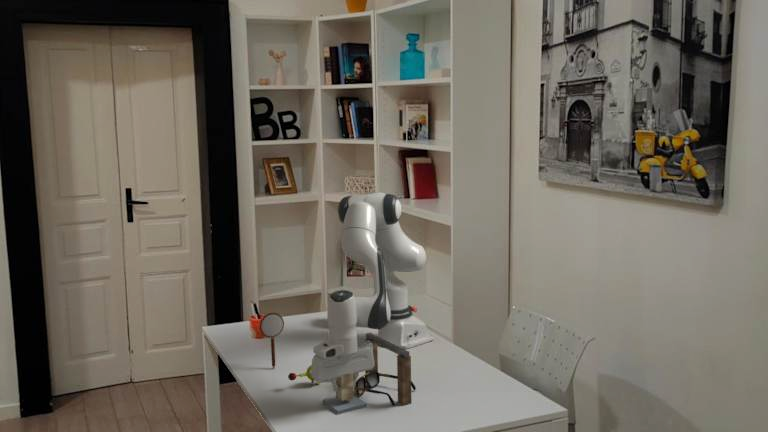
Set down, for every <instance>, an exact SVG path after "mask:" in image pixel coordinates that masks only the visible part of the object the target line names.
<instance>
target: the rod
mask: <svg viewBox="0 0 768 432" xmlns="http://www.w3.org/2000/svg"><path fill="white" fill-rule="evenodd" d="M365 339H368V340H370V341H372V342H374V343H376V344H377V346H380V347H382V348H384V349H386V350H389V351H390V352H393V353H394V354H397V355H400V356H402V357H404V358H406V357H409V356H410V351H408V350H407V349H404V348H400V347H398V346H396V345H394V344H392V343H390V342H388V341H386V340H384V339H382V338H380V337H378V336H377V335H375V334H373V333H372V332H368V333H366V334H365Z"/></svg>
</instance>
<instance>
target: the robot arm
mask: <svg viewBox="0 0 768 432" xmlns="http://www.w3.org/2000/svg"><path fill="white" fill-rule="evenodd" d="M337 207H338V208H337V213H338V219H339V221H340V222H341V223H342V229H341V234H340V235H341V236H340V247H341V249H342V252H343V253H344V255H346V257H347V258H348V259H350V260H352V261H353V262H355V263H358V264H361V265H362V266H363V268H365V269H366V270H368V271H369V273H370V274H371V275H372V276H373V277H372V279H373V280H372V282H373V295H369V296H367V295H366V296H365V295H364V296H363V295H361V296H360V295H354V293H353V292H352V291H350V290H346V289H345V290H344V289H343V290H342V289H341V290H336V291H332V293H331V294H329V296H328V302H327V313H328V314H327V315H326V316H327V326H328V334H327V339H325V340H323V341H322V342H320V343H318V344H316V345H315V346H313V349H312V351H313V354H314V355H313V357H312V359H311V365H312V377H313V379H315V380H316V381H318V383H320V382H325V381H328V380H329V382H330V383H331V385H332V390H333V392H335V393H336V391H340V385H338V384H336V382H335V381H337V378H338V377H341V375H344V374H348V373H352V372H353V388H354V387H355V386H356V385H355V383H356V381H357V380H358V379H359V375H360V374H359V373H364V372H365V371H367V370H372V369H373V368H374V365H375V363H374V356H373V344H372V342H371V341H369V340H365V339H364V340H361V341H360V340H359V341H358V331H357V328H364V329H365V328H368V329H373V330H377V335H376V336H378V337H380V338H382V339H384V340H386V341H388V342H390V343H392V344H394V345H396V346H398V347H400V348H403V349H405V350H407V349H411V348H414V347H417V346H421V345H423V344H426V343H429V342H432V341H434V336H433V335H432V334H431V333H429V332H428V328H427V325H426V323H425V321H423V320H422V319H419V317H417V316H416V315H414V314H413V313H417V312H418V308H417V307H416V306H412V305H409V288H408V286H407V284H406V283H405V281H403V280H401V279H399V278H398V277H397V276H396V274H395V272H397V273H398V272H402V273H412V272H418V271H421V270H422V269H423V268H424V267H425V266H426V264H427V263H426V262H427V252H426V250H425V248H424V247H423V246H422V245H421V244H418V243H416V242H415V241H413V240H412V239H411V238H410V237H409V236H407V234H405V232H404V231H403V230H402V227H401V224H400V222H399V221H400V220H401V215H402V209H403V208H402V203H401V201H400V199H399V197H397V196H396V195H395V194H390V193H383V192H380V191H378V192H374V193H368V194H359V195H348V196H345V197H343V198H342V199H340V201H339V203H338V206H337ZM369 342H370V343H369ZM316 381H315V382H316Z"/></svg>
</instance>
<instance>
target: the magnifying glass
mask: <svg viewBox="0 0 768 432" xmlns="http://www.w3.org/2000/svg"><path fill="white" fill-rule="evenodd" d="M284 326H285V322H284V318H283V317H282V315H280V314H279V313H276V312H269V313H266V315H264V316H263V317H262V318H261V320H260V323H259V330H260V332H261V334H262V335H264V337H267V338H270V348H271V349H270V350H271V351H270V353H271V367H272V369H275V368H276V349H275V348H276V347H275V346H276V345H275V338H276V337H278V336H279V335H280V334H281V333H282V331H283V330H284Z"/></svg>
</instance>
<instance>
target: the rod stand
mask: <svg viewBox="0 0 768 432" xmlns="http://www.w3.org/2000/svg"><path fill="white" fill-rule="evenodd" d="M364 340H368V339H366V338H365V339H364ZM369 341H370V340H369ZM371 342H372V341H371ZM369 343H370V342H369ZM372 344H373V356H374V363H375V365H374V368H373V369H372V370H367V371H364V373H365V374H366V373H368V372H371V371H373V370H376V371H378V372H379V362H378V361H379V360H378V358H379V355H378V354H379V353H378V344H376V343H374V342H372ZM411 359H412V357H411V355H409V357H406V358H404V357H402V356H400V355H398V354H397V355H396V365H397V366H396V368H397V369H396V371H397V373H396V374H397V375H396V376H397V379H396V380H397V403H398V404H400V405H402V406H406V405H407V406H408V405H411V404H412V386H411V381H412V360H411ZM365 374H364V375H365Z"/></svg>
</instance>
